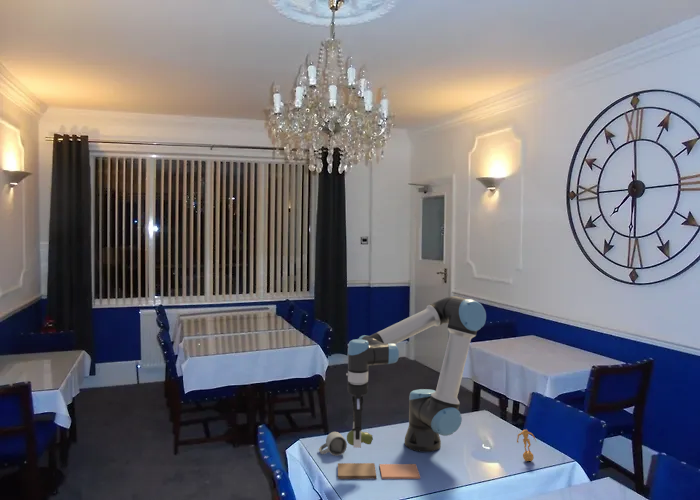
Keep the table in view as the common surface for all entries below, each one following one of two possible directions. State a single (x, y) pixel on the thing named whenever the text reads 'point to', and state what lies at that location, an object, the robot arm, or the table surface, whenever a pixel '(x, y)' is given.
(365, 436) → the green oblong lump
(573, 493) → the table surface
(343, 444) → the ceramic mug
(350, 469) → the walnut board
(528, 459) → the figurine
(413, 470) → the terracotta tile
